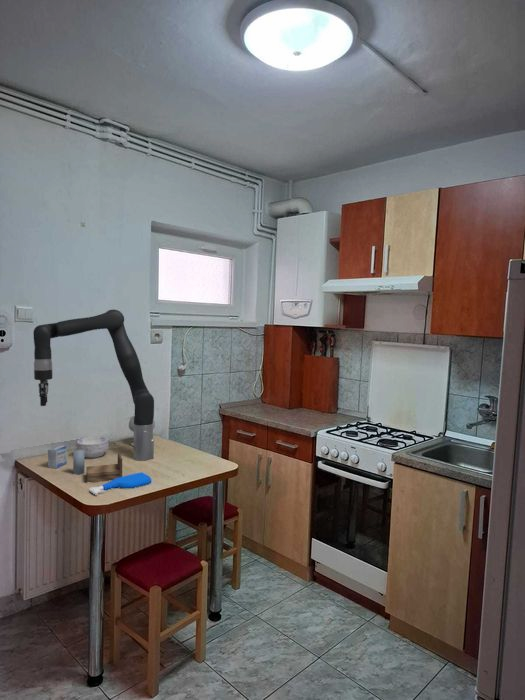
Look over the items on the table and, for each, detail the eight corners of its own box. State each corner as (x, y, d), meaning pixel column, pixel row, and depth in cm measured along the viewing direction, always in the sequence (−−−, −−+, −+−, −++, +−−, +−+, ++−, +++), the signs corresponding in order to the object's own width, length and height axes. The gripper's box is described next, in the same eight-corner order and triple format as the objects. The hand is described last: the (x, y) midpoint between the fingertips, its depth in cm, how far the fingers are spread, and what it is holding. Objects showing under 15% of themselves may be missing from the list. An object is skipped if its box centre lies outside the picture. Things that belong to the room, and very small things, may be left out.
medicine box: (56, 468, 216) (56, 449, 215) (47, 467, 217) (47, 449, 216) (66, 463, 224) (66, 445, 223) (58, 462, 225) (58, 444, 224)
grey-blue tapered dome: (84, 470, 214) (84, 448, 213) (84, 474, 210) (84, 451, 209) (73, 471, 212) (73, 449, 211) (73, 475, 208) (73, 452, 207)
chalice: (129, 448, 251) (129, 420, 250) (127, 441, 265) (127, 415, 264) (156, 446, 256) (156, 419, 255) (153, 440, 269) (153, 414, 268)
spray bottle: (141, 471, 207) (85, 484, 191) (153, 477, 199) (96, 492, 183) (141, 477, 208) (85, 491, 191) (153, 484, 200) (96, 499, 183)
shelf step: (119, 472, 213) (119, 452, 212) (122, 479, 203) (122, 459, 203) (86, 475, 207) (86, 455, 207) (87, 483, 198) (87, 462, 198)
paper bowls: (71, 454, 238) (71, 439, 238) (101, 449, 248) (101, 434, 248) (83, 461, 227) (82, 445, 226) (113, 456, 237) (113, 440, 236)
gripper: (51, 370, 210) (52, 406, 211) (53, 367, 223) (53, 401, 224) (32, 370, 207) (33, 407, 208) (35, 367, 221) (36, 402, 222)
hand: (44, 404), depth 216 cm, fingers open, 8 cm apart
